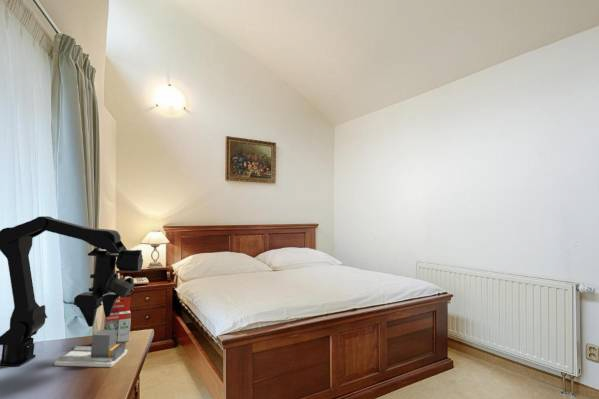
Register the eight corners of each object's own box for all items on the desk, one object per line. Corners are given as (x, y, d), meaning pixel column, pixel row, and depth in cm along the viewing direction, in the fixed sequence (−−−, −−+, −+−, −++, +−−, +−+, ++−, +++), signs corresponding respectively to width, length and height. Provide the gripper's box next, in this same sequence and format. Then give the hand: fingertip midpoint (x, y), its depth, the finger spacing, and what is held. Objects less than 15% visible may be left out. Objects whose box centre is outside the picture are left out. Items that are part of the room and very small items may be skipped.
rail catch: (108, 358, 97) (108, 350, 97) (115, 352, 101) (116, 344, 101) (112, 358, 97) (112, 350, 97) (119, 352, 101) (120, 344, 101)
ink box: (129, 341, 113) (132, 299, 114) (102, 345, 109) (106, 301, 110) (128, 337, 116) (131, 296, 117) (102, 341, 112) (106, 298, 113)
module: (90, 358, 96) (92, 334, 97) (98, 352, 101) (100, 329, 101) (107, 359, 97) (109, 335, 97) (115, 352, 101) (117, 330, 102)
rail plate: (54, 365, 93) (55, 351, 93) (76, 351, 103) (77, 338, 103) (111, 367, 94) (112, 353, 94) (127, 352, 104) (128, 340, 104)
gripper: (116, 277, 91) (110, 333, 90) (143, 267, 110) (139, 313, 109) (75, 275, 91) (69, 331, 90) (110, 265, 109) (105, 312, 108)
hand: (99, 321), depth 99 cm, fingers open, 9 cm apart
